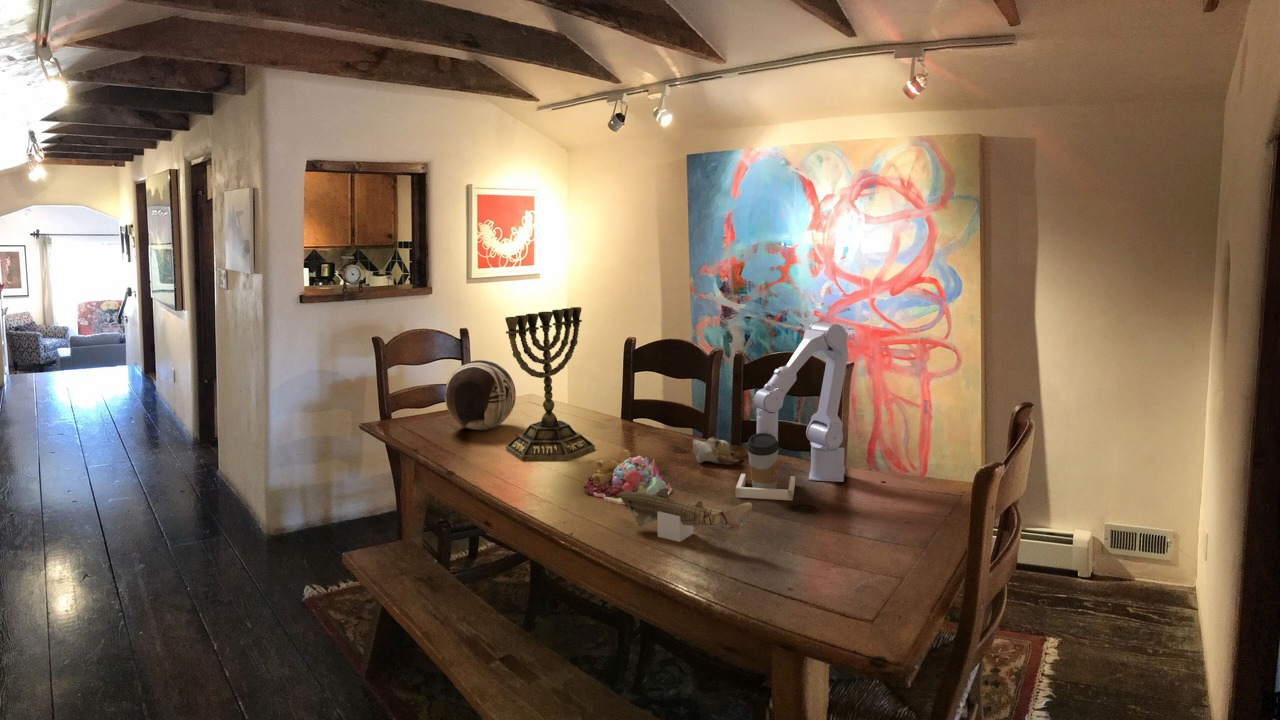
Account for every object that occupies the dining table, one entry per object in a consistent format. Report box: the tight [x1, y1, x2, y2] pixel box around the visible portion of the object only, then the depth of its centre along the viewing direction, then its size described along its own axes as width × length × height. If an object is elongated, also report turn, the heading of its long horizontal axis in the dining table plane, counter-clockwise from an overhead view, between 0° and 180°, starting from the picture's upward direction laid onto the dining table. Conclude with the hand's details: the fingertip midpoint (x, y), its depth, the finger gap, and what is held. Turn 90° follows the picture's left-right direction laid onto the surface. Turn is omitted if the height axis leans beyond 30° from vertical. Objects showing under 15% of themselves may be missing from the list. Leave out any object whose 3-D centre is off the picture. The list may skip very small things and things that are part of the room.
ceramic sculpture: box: [692, 435, 743, 466], centre depth 250 cm, size 11×9×15 cm
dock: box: [735, 473, 796, 501], centre depth 223 cm, size 15×13×2 cm
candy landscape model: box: [582, 449, 673, 506], centre depth 227 cm, size 25×24×9 cm
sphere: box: [444, 359, 517, 431], centre depth 297 cm, size 25×25×25 cm
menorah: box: [505, 306, 596, 462], centre depth 265 cm, size 36×25×45 cm
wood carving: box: [620, 488, 753, 543], centre depth 191 cm, size 9×35×11 cm, turn 55°
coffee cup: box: [746, 433, 780, 489], centre depth 220 cm, size 8×8×15 cm
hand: (766, 481), depth 227 cm, fingers closed
